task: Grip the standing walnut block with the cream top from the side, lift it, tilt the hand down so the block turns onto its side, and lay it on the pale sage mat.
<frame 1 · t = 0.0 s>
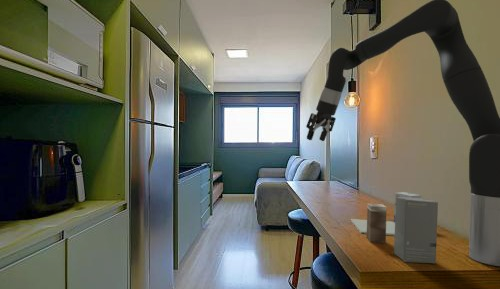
hand: (315, 140, 122), 31 cm above the table, tool tilted 20°, fingers open, 8 cm apart
skincare box: (414, 259, 79), on the table
walnut block: (375, 240, 94), on the table
mat: (378, 227, 109), on the table
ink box: (406, 224, 116), on the table
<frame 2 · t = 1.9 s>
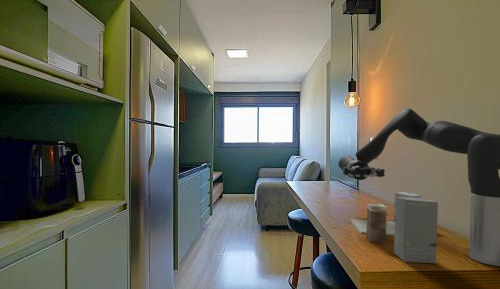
hand: (367, 173, 106), 20 cm above the table, tool horizontal, fingers open, 8 cm apart
nothing on the table moved.
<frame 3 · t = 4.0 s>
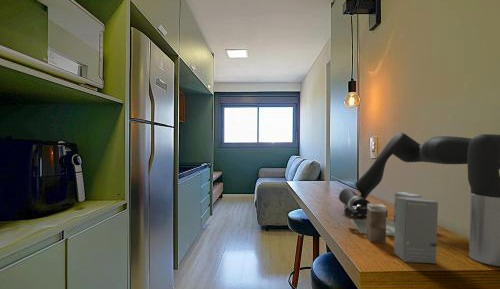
hand: (369, 215, 102), 6 cm above the table, tool horizontal, fingers open, 8 cm apart
nothing on the table moved.
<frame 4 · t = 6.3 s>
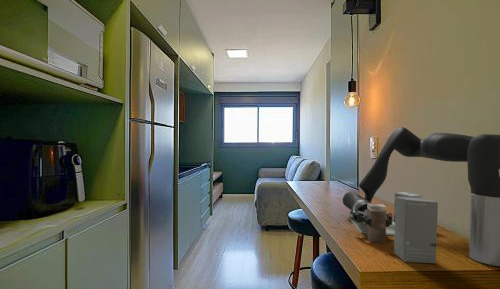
hand: (378, 223, 91), 6 cm above the table, tool horizontal, fingers closed on walnut block, 4 cm apart
walnut block: (375, 240, 94), on the table, touching gripper
everything else where it was.
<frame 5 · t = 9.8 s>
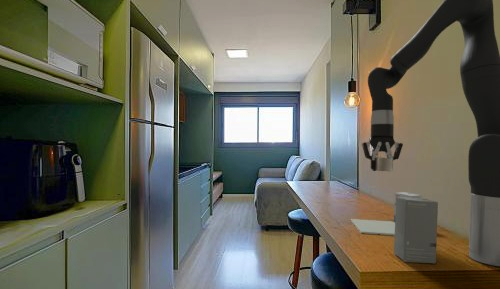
hand: (381, 170, 108), 21 cm above the table, tool pointing down, fingers closed on walnut block, 4 cm apart
walnut block: (377, 163, 114), point 23 cm above the table, tilted 89°, touching gripper
everything else where it was.
when the fingers open (2 cm above the table, at t = 13.6 s): walnut block drops 2 cm, resting on mat.
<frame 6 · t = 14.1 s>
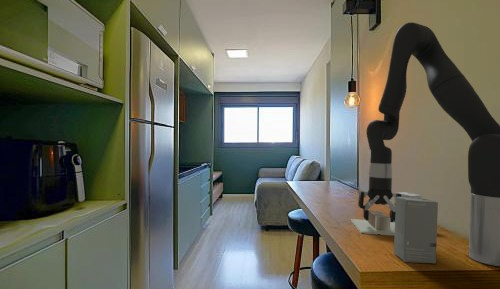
hand: (379, 221, 108), 3 cm above the table, tool pointing down, fingers open, 8 cm apart
walnut block: (374, 216, 114), point 3 cm above the table, tilted 90°, touching mat
everything else where it was.
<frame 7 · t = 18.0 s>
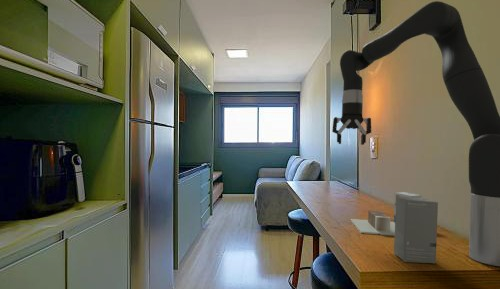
hand: (351, 144, 117), 30 cm above the table, tool pointing down, fingers open, 8 cm apart
nothing on the table moved.
at the end: walnut block tilted 90°; walnut block inside the target area (5.1 cm from its centre), point 2.8 cm above the table; walnut block touching mat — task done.
